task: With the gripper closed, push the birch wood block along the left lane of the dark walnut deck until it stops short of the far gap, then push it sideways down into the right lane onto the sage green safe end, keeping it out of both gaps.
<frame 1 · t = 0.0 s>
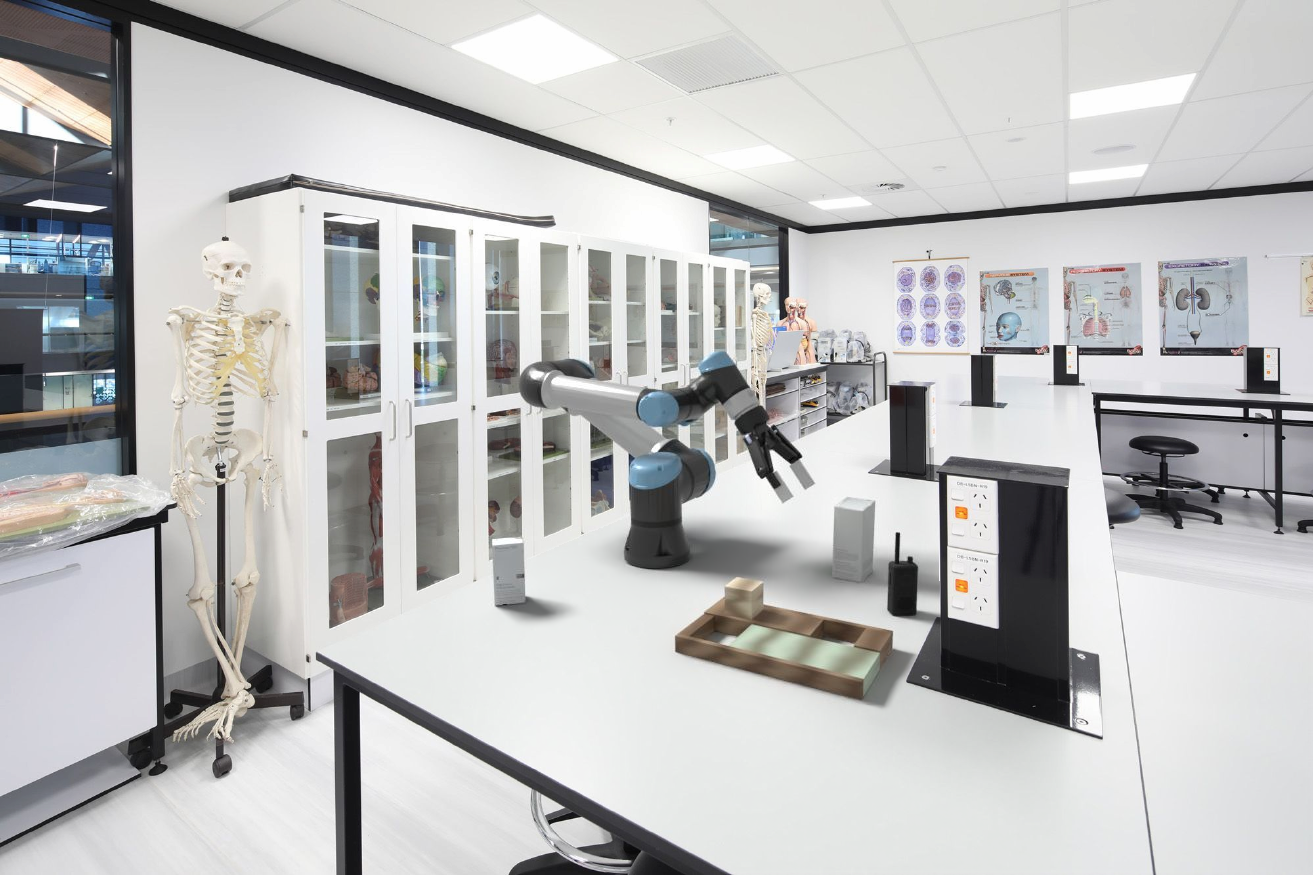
hand: (799, 493, 152), 15 cm above the lab bench, tool tilted 35°, fingers open, 13 cm apart
skincare box 2: (510, 601, 135), on the lab bench
skincare box: (853, 575, 144), on the lab bench
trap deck: (783, 649, 112), on the lab bench
walkie-talkie: (901, 613, 125), on the lab bench
block: (744, 611, 120), point 3 cm above the lab bench, touching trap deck
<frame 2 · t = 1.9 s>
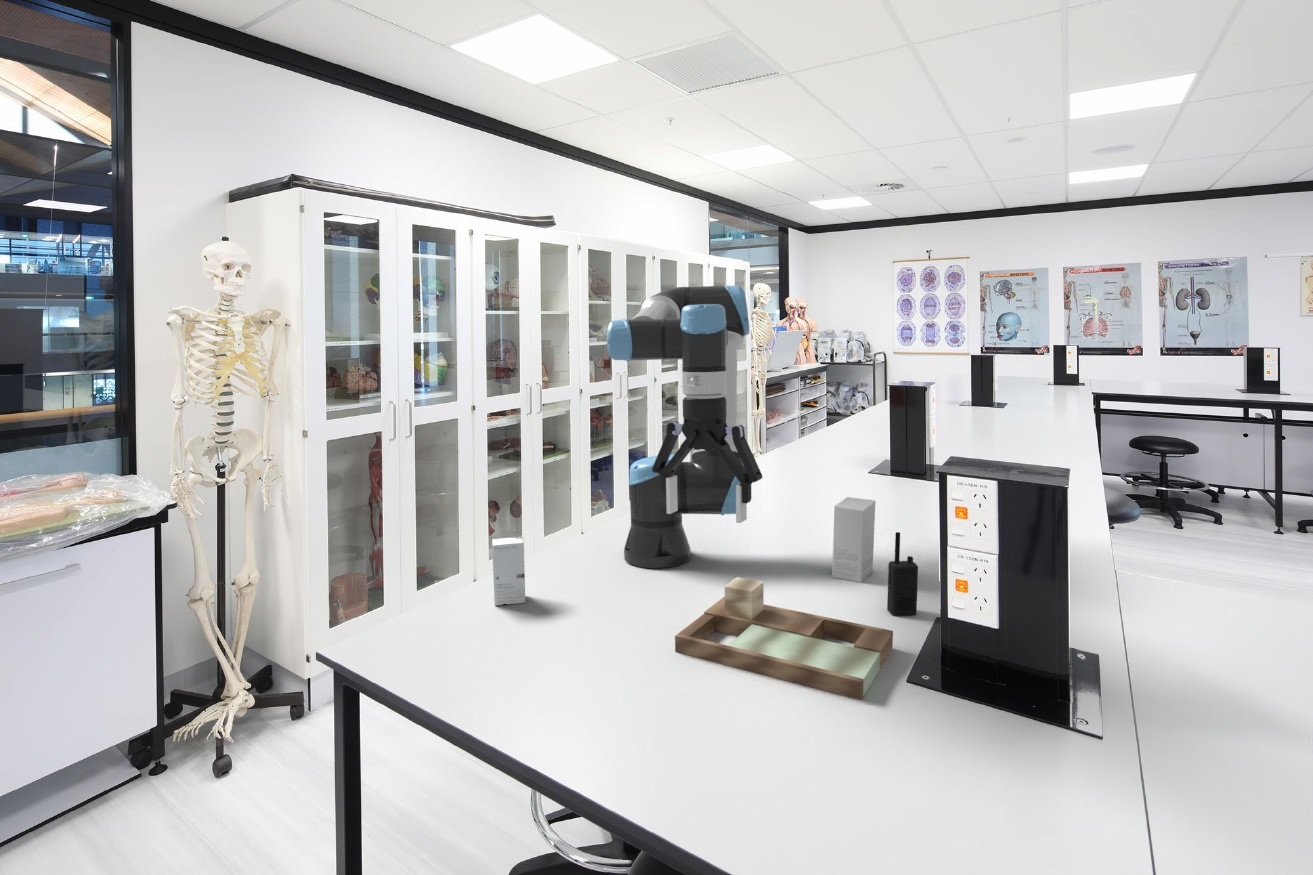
hand: (705, 516, 122), 19 cm above the lab bench, tool pointing down, fingers open, 13 cm apart
nothing on the lab bench moved.
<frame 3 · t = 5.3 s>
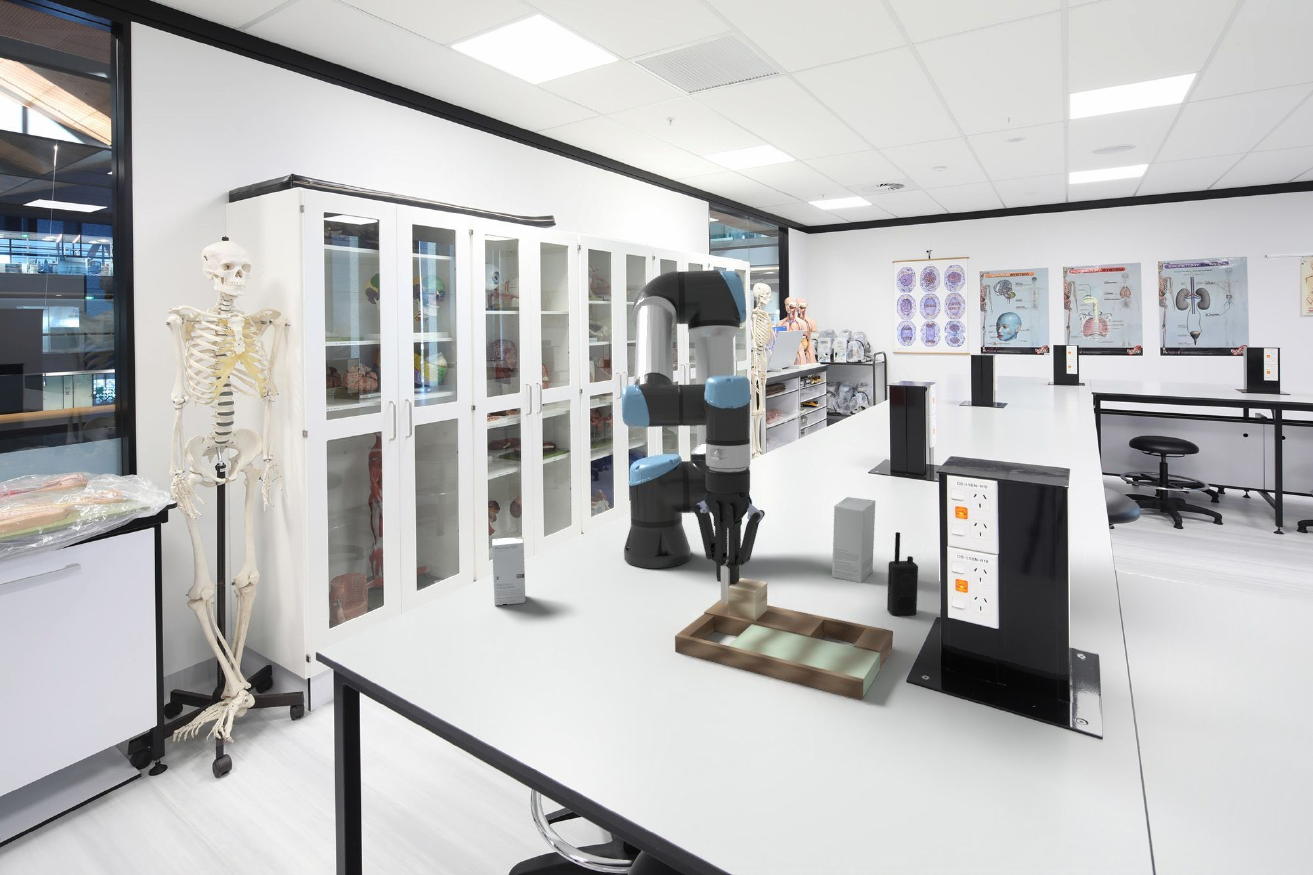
hand: (727, 600, 121), 5 cm above the lab bench, tool pointing down, fingers closed
block: (747, 612, 119), point 3 cm above the lab bench, touching gripper, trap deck
everything else where it was.
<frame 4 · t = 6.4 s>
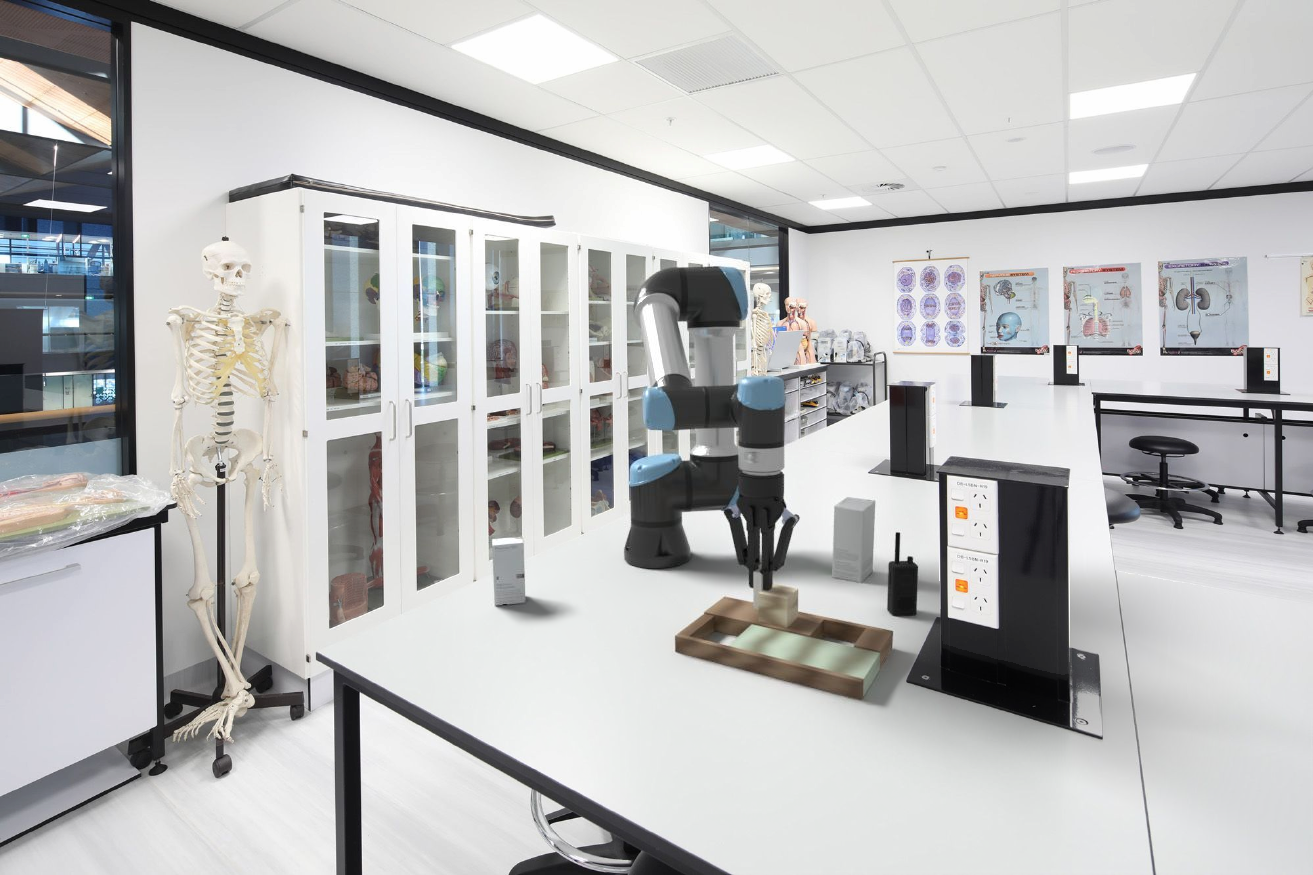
hand: (760, 606, 118), 5 cm above the lab bench, tool pointing down, fingers closed
block: (778, 619, 116), point 3 cm above the lab bench, touching gripper
everything else where it was.
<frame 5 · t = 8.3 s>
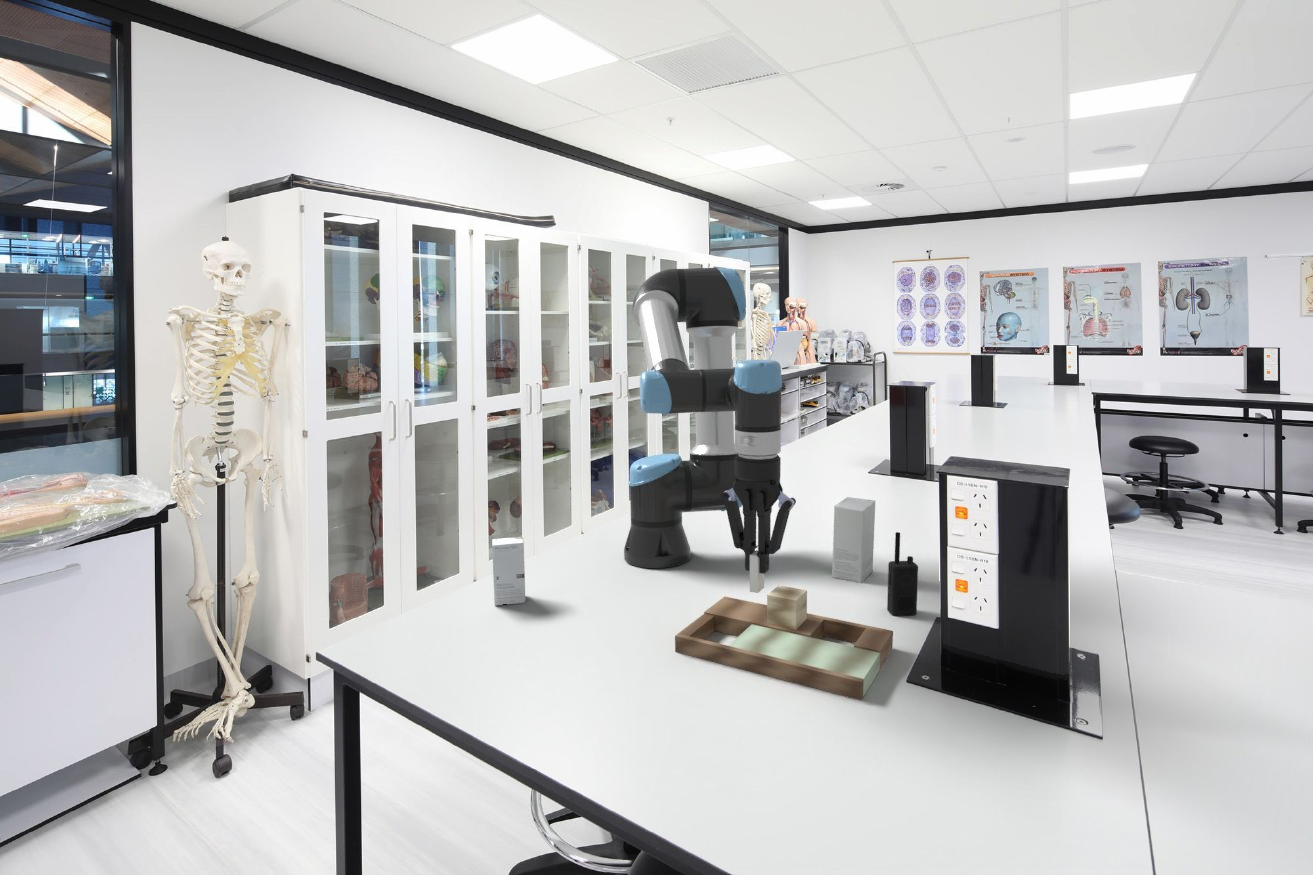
hand: (756, 589, 118), 7 cm above the lab bench, tool pointing down, fingers closed
block: (787, 621, 115), point 3 cm above the lab bench, touching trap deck
everything else where it was.
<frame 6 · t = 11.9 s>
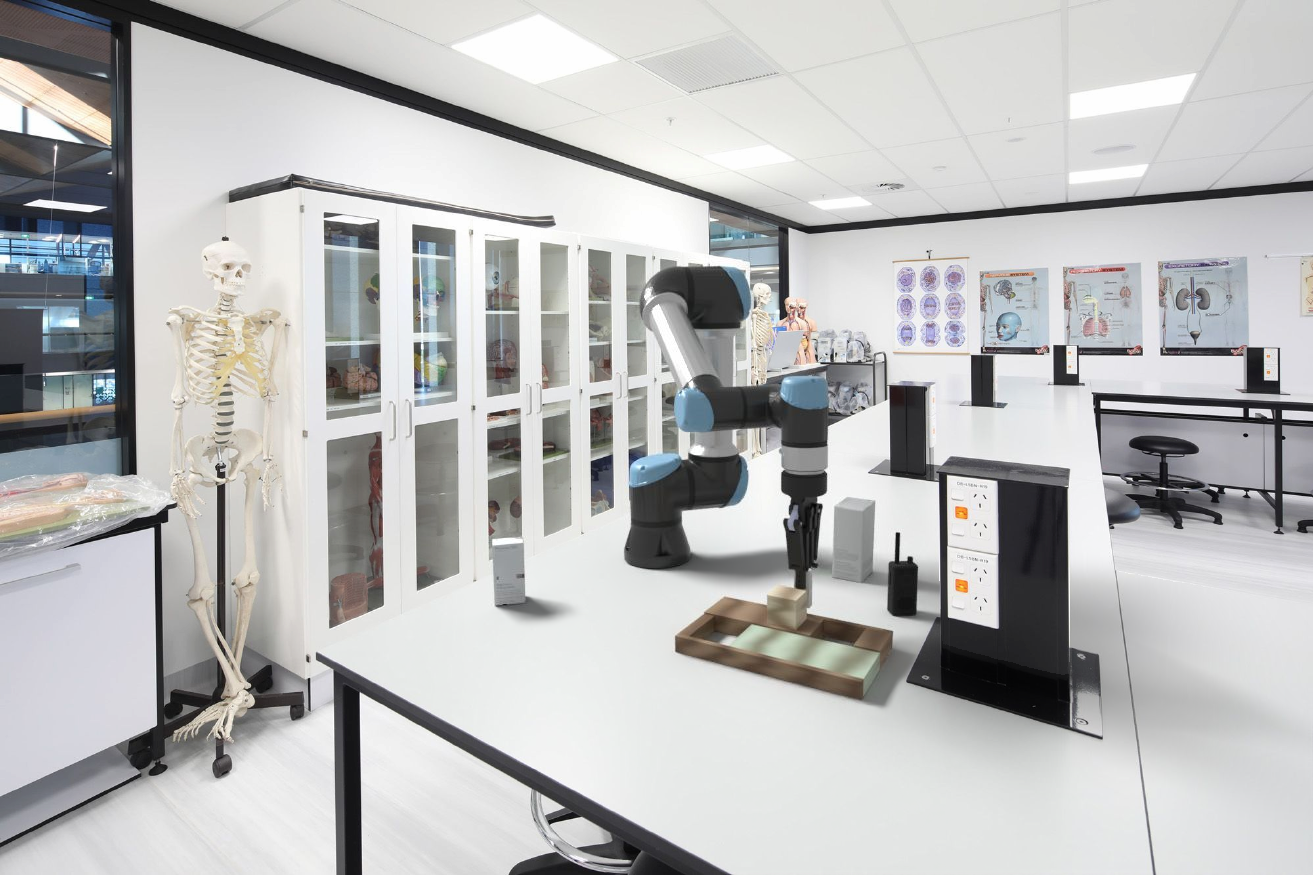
hand: (802, 605, 118), 5 cm above the lab bench, tool pointing down, fingers closed
block: (787, 621, 115), point 3 cm above the lab bench, touching gripper, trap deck
everything else where it was.
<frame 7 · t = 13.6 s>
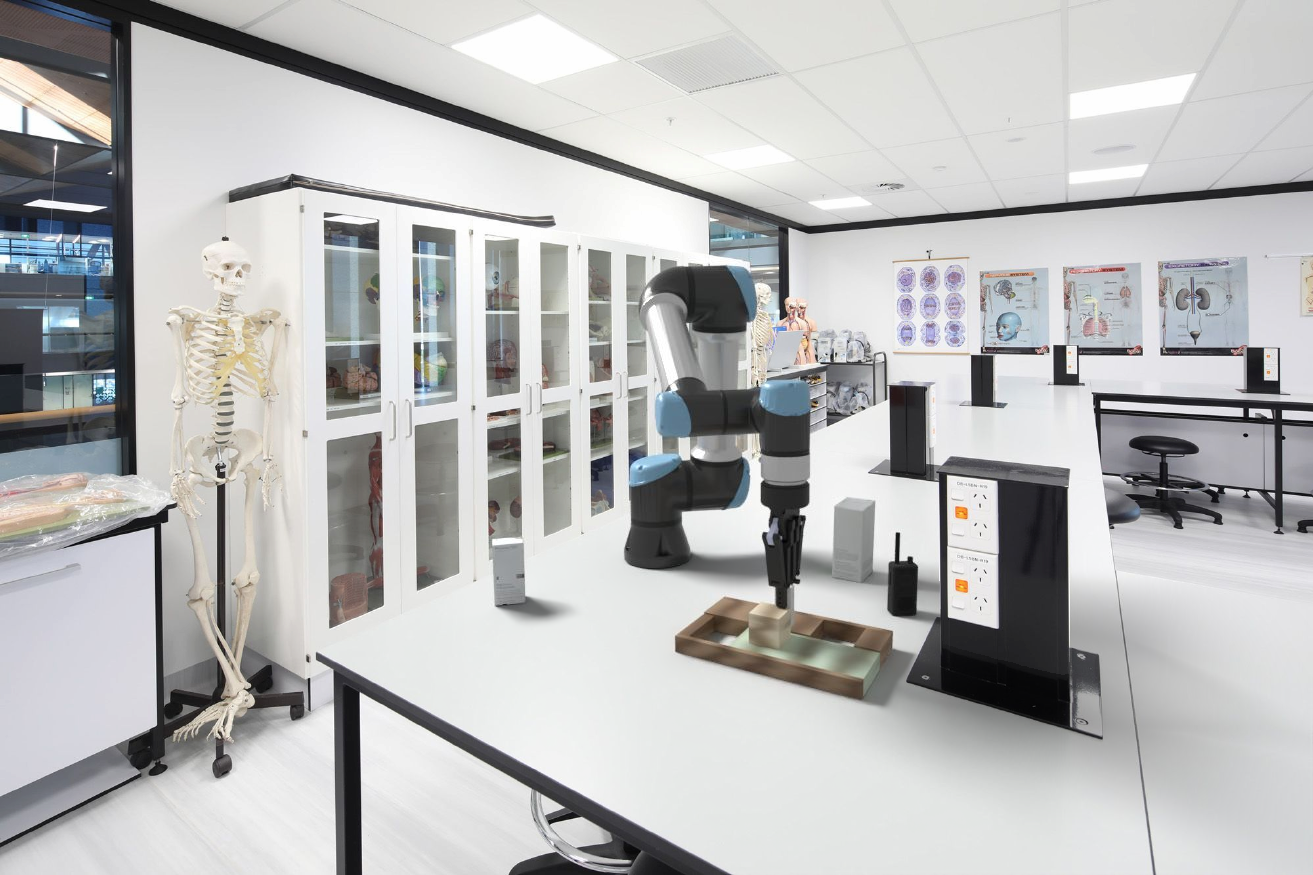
hand: (784, 623, 111), 4 cm above the lab bench, tool pointing down, fingers closed
block: (769, 640, 109), point 3 cm above the lab bench, touching gripper
everything else where it was.
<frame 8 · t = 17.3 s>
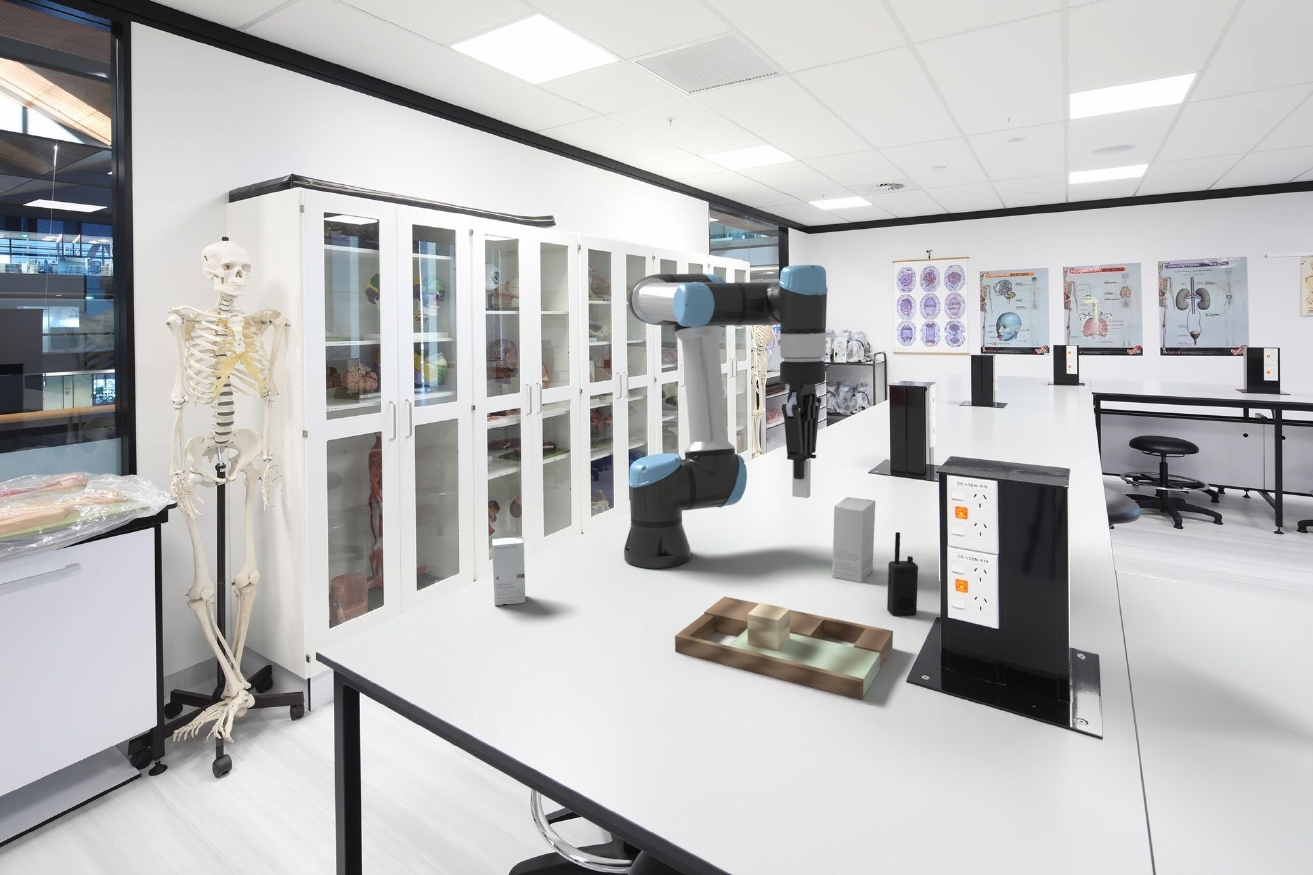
hand: (801, 496, 120), 22 cm above the lab bench, tool pointing down, fingers closed
block: (768, 641, 109), point 3 cm above the lab bench, touching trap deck
everything else where it was.
at the end: block inside the target area (2.6 cm from its centre), point 2.7 cm above the lab bench; block tilted 0° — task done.
